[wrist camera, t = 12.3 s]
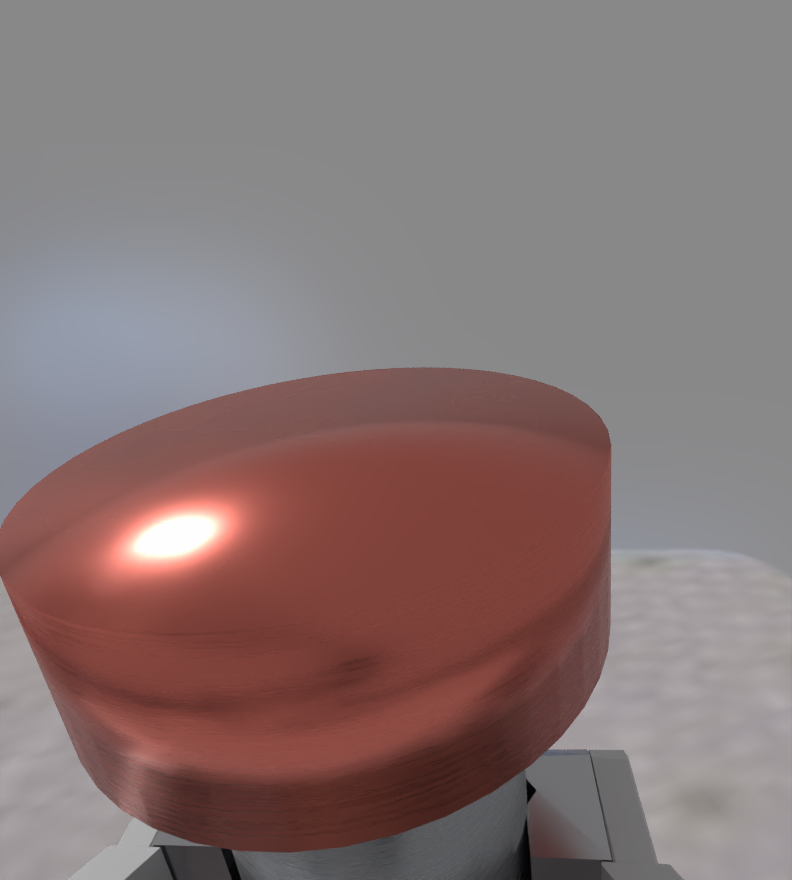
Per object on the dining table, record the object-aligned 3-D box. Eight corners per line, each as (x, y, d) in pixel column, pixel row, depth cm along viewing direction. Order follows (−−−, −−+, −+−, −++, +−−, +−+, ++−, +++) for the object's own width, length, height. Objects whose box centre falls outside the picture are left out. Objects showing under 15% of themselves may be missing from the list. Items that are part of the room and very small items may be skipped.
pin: (245, 1032, 13) (21, 444, 8) (480, 876, 15) (420, 347, 10) (358, 1559, 8) (-79, 806, 3) (687, 1198, 10) (767, 445, 5)
